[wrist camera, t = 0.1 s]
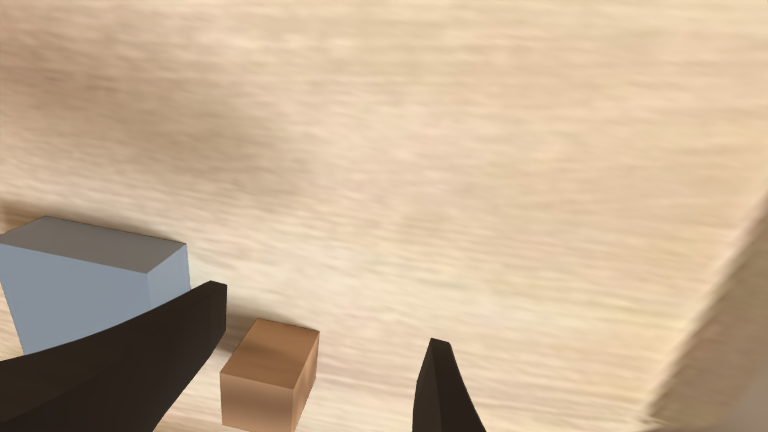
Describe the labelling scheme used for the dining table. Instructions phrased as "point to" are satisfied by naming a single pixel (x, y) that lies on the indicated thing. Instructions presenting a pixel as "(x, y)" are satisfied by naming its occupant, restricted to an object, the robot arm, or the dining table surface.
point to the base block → (84, 279)
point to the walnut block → (269, 377)
